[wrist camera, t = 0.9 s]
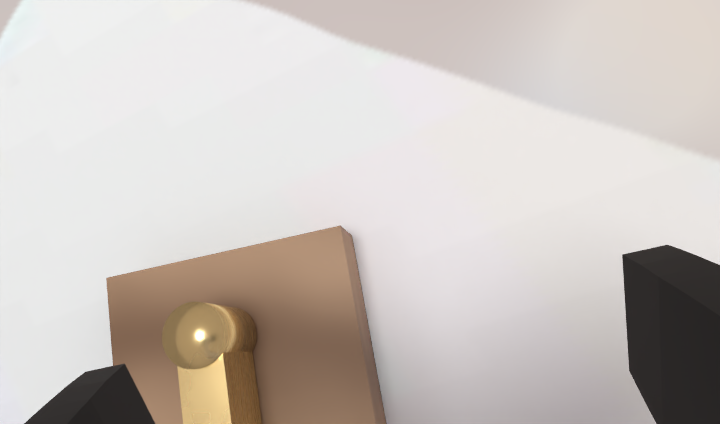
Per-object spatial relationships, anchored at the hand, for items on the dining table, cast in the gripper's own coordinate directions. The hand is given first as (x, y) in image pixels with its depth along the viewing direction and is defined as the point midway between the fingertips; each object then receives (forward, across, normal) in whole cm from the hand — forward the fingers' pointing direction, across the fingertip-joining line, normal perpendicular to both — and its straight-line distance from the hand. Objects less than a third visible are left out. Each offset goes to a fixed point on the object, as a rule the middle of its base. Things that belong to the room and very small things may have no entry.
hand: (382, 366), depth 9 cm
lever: (+9, +6, +8) cm, 13 cm away
